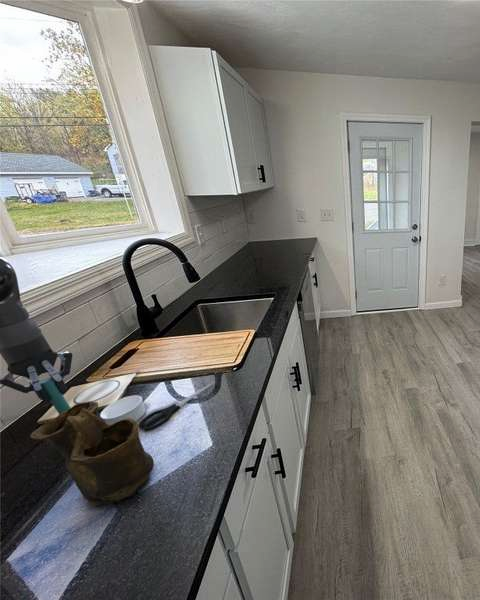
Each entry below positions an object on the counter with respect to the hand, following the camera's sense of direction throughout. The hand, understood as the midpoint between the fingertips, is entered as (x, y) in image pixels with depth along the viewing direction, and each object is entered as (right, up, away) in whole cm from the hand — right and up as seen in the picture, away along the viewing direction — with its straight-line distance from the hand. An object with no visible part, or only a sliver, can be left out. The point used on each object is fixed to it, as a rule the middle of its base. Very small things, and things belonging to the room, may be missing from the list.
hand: (55, 395), depth 81 cm
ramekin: (+15, -8, +4) cm, 18 cm away
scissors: (+28, -5, +8) cm, 29 cm away
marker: (0, -6, +2) cm, 6 cm away
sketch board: (-4, -5, +14) cm, 16 cm away
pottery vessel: (+31, -15, -15) cm, 37 cm away
